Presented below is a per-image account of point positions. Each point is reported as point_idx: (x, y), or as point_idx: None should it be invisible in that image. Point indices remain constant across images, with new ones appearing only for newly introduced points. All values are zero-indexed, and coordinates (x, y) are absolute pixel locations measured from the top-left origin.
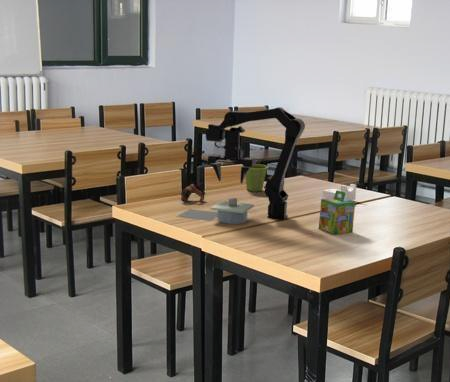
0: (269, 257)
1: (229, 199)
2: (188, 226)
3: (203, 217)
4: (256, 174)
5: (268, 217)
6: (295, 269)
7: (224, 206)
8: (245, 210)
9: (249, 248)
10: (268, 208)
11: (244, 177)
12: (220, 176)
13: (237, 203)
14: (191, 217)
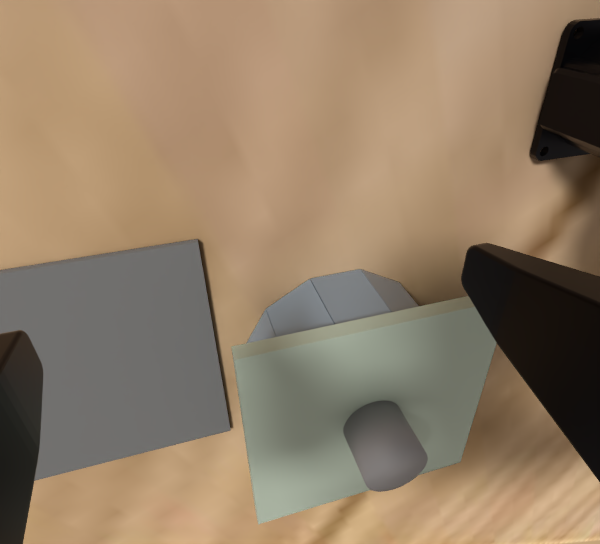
0: (526, 533)
1: (374, 487)
2: (187, 529)
3: (154, 411)
4: None
5: (537, 157)
6: (574, 540)
7: (327, 462)
8: (465, 438)
9: (475, 527)
10: (583, 143)
11: (594, 285)
12: (5, 420)
13: (384, 353)
14: (90, 452)
